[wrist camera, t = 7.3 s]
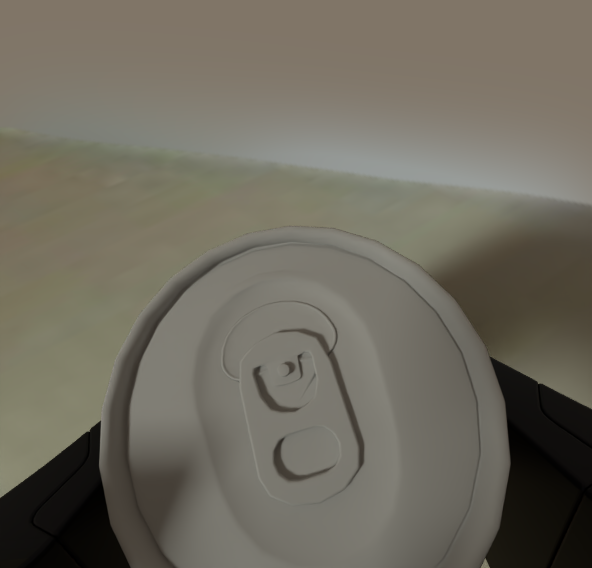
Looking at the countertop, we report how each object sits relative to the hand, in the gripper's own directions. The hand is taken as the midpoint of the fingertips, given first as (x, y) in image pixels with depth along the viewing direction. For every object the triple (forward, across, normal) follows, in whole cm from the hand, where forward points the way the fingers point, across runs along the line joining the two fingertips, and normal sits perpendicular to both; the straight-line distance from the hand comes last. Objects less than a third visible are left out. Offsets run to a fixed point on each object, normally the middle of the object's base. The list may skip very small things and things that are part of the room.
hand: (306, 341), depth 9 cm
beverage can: (+4, 0, +6) cm, 7 cm away
